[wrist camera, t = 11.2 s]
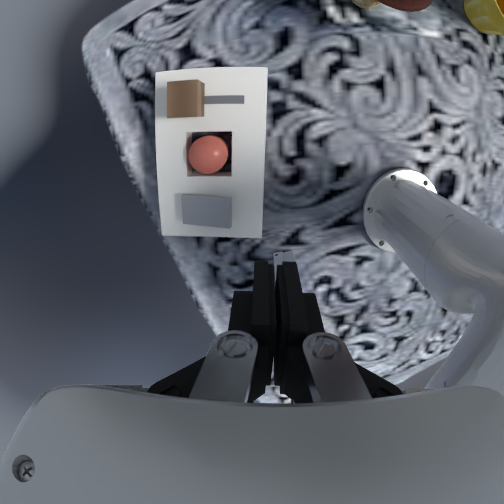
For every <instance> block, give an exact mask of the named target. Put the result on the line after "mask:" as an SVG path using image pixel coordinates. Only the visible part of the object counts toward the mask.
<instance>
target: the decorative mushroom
mask: <svg viewBox="0 0 504 504" xmlns="http://www.w3.org/2000/svg"><path fill="white" fill-rule="evenodd" d="M432 1H433V0H352V2H353V3H354V4H356V5H357V6H359V7H361V8H364V9H370V8H373V7H376V6H377V5H379V4H380V3H382V4H384V5H387V6H389V7H392V8H394V9H397V10H402V11H409V12H414V11H420V10H423V9H425V8H427V7H428V6H429V5H430V4H431V3H432Z"/></svg>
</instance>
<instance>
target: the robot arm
mask: <svg viewBox="0 0 504 504" xmlns="http://www.w3.org/2000/svg"><path fill="white" fill-rule="evenodd" d="M391 176H392V178H390V177H391ZM369 207H370V208H369ZM368 208H369V209H368ZM367 209H368V210H367ZM362 219H363V225H364V228H365V231H366V233H367V235H368V236H369V238H370V239H371V240H372V242H373V243H374V244H375V245H376V246H377V247H379V248H380V249H382V250H384V251H387V252H391V253H397V254H398V255H399V257H400V258H401V259H402V260H403V261H404V263H405V264H406V265H407V266H408V267H409V269H410V270H411V271H412V272H413V273H414V275H415V276H416V277H417V278H418V280H419V281H420V282H421V283H422V285H423V286H424V287H425V289H426V290H427V291H428V292H429V294H430V295H431V296H432V297H433V299H434V300H435V301H436V302H437V303H438V304H439V305H440V306H441V307H443V308H444V309H446V310H448V311H450V312H454V313H460V314H473V313H474V314H473V317H472V320H471V322H470V323H469V325H468V327H467V328H466V330H465V331H464V333H463V336H462V337H461V339H460V340H459V342H458V343H457V345H456V346H455V347H454V349H453V350H452V352H451V353H450V354H449V356H448V357H447V358H446V360H445V361H444V362H443V364H442V365H441V366H440V368H439V369H438V370H437V372H436V373H435V374H434V375H433V377H432V378H431V380H430V381H429V382H428V384H427V385H426V387H425V389H414V388H405V390H404V391H401V390H400V389H399V388H398V387H396V386H395V385H394V384H392V383H390V382H388V381H386V380H385V379H383V378H381V377H379V376H378V375H376V374H374V373H372V372H370V371H369V370H367V369H365V368H363V367H362V366H360V365H358V364H356V363H355V362H354V360H353V358H352V357H351V355H350V353H349V351H348V349H347V347H346V345H345V343H344V342H343V341H342V339H340V338H339V337H338V336H335V335H333V334H330V333H325V331H324V327H323V323H322V319H321V315H320V311H319V307H318V303H317V299H316V295H315V294H314V293H302V288H301V283H300V278H299V273H298V269H297V264H296V262H288V261H283V262H282V265H277V271H276V284H275V286H274V270H273V264H268V261H261V260H255V264H254V283H253V291H234V295H233V301H232V308H231V315H230V321H229V328H228V331H226V332H223V333H221V334H219V335H218V336H217V337H215V339H214V340H213V342H212V344H211V347H210V349H209V351H208V353H207V356H206V357H204V358H202V359H200V360H198V361H196V362H195V363H193V364H191V365H189V366H187V367H185V368H183V369H181V370H179V371H177V372H176V373H174V374H172V375H170V376H168V377H166V378H164V379H162V380H160V381H158V382H156V383H155V384H153V385H152V386H151V387H150V388H143V385H67V386H61V387H56V388H52V389H50V390H47V391H45V392H44V393H43V394H42V395H40V396H39V397H38V398H37V399H36V400H35V401H34V403H33V404H32V405H31V407H30V408H29V409H28V411H27V412H26V414H25V415H24V417H23V419H22V420H21V422H20V424H19V426H18V427H17V429H16V431H15V433H14V435H13V437H12V439H11V441H10V443H9V445H8V447H7V449H6V452H5V454H4V456H3V459H2V461H1V464H0V504H504V235H503V234H501V233H500V232H498V231H497V230H495V229H493V228H492V227H490V226H489V225H487V224H486V223H484V222H483V221H481V220H480V219H478V218H477V217H475V216H474V215H472V214H470V213H469V212H467V211H466V210H464V209H462V208H461V207H459V206H457V205H456V204H454V203H452V202H451V201H449V200H447V199H446V198H444V197H442V196H440V195H439V194H437V192H436V190H435V187H434V185H433V184H432V182H431V181H430V180H429V179H428V178H427V177H426V176H425V175H424V174H422V173H420V172H418V171H416V170H413V169H409V168H397V169H394V170H390V171H389V172H387V173H385V174H383V175H382V176H381V177H379V178H378V179H377V180H376V181H375V182H374V184H373V185H372V186H371V188H370V189H369V191H368V193H367V195H366V198H365V200H364V204H363V210H362ZM273 356H274V385H275V386H280V394H285V395H286V396H288V397H289V398H290V399H291V404H272V403H254V402H255V400H256V399H257V398H259V397H260V396H261V395H263V394H264V393H265V387H266V385H270V382H271V374H272V365H273Z"/></svg>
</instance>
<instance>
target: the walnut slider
mask: <svg viewBox="0 0 504 504" xmlns="http://www.w3.org/2000/svg"><path fill="white" fill-rule="evenodd" d="M204 96H205V83H203V82H201V81H200V80H198V79H195V80H181V81H170V82H167V118H185V117H204Z"/></svg>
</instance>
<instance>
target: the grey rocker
mask: <svg viewBox="0 0 504 504" xmlns="http://www.w3.org/2000/svg"><path fill="white" fill-rule="evenodd" d="M181 200H182V217H183V224H189V225H199V226H208V227H218V228H227V229H230V228H231V227H232V197H226V196H213V195H198V194H183V195H181Z"/></svg>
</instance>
